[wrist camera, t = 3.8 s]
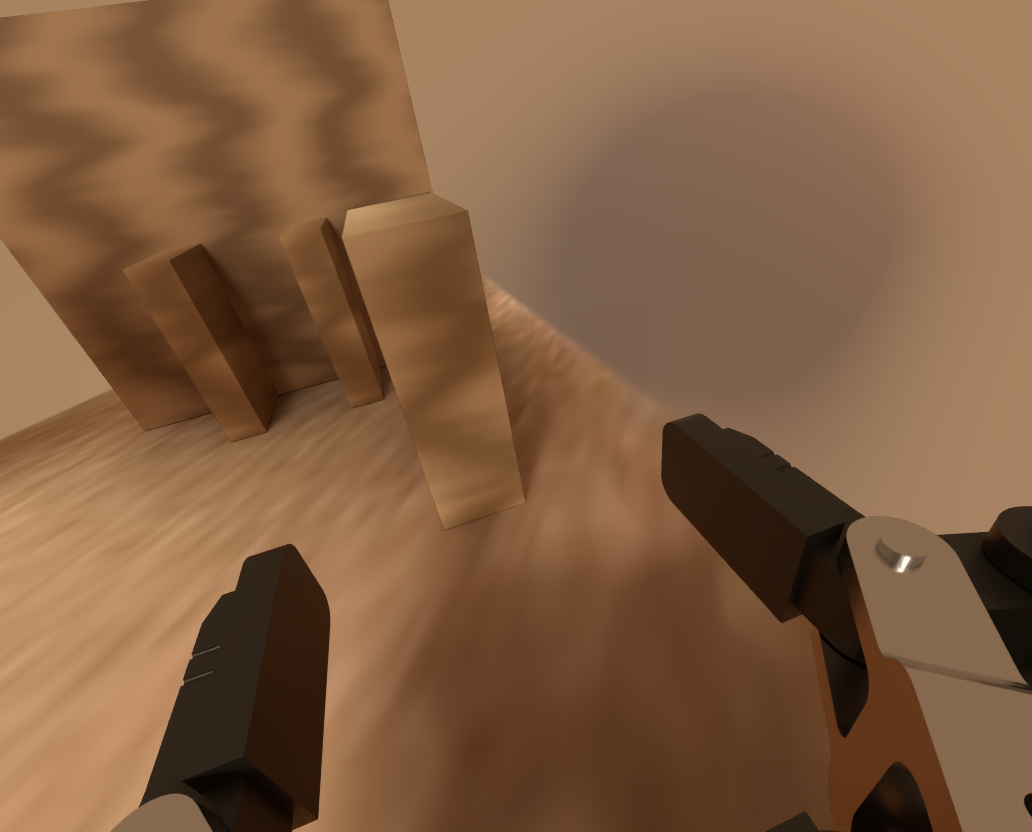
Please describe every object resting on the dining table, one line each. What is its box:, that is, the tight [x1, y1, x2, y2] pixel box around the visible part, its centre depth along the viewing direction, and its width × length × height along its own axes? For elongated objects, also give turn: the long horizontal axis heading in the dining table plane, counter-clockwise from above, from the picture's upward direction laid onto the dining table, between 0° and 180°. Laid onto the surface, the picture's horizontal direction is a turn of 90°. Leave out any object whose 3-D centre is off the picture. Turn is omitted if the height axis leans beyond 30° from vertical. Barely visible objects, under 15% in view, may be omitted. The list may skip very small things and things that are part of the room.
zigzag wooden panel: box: [0, 0, 433, 442], centre depth 24 cm, size 22×7×20 cm, turn 108°
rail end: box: [342, 192, 525, 530], centre depth 18 cm, size 3×8×11 cm, turn 18°
